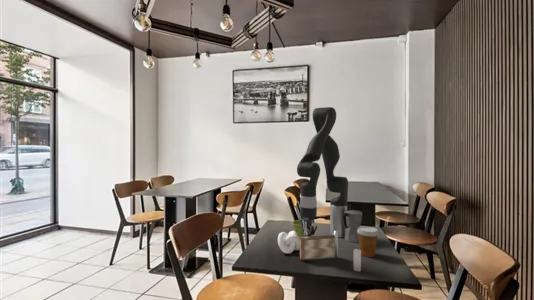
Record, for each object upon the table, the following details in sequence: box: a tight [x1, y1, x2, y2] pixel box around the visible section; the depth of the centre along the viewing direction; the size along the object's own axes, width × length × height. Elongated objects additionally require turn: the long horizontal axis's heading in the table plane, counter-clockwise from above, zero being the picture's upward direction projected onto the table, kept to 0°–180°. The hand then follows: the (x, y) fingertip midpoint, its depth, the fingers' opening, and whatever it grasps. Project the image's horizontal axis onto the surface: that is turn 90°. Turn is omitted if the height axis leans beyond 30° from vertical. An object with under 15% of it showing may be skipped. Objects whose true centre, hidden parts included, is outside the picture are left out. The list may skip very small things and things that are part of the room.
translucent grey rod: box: [333, 231, 339, 259], centre depth 132 cm, size 2×2×12 cm
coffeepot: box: [343, 206, 363, 243], centre depth 156 cm, size 15×9×18 cm, turn 129°
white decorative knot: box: [277, 230, 300, 254], centre depth 140 cm, size 11×12×9 cm
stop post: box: [352, 248, 362, 272], centre depth 119 cm, size 3×3×8 cm
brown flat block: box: [299, 234, 334, 260], centre depth 131 cm, size 16×2×10 cm, turn 102°
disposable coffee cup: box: [357, 226, 379, 258], centre depth 136 cm, size 10×10×12 cm
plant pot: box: [291, 219, 305, 238], centre depth 159 cm, size 9×9×9 cm
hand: (308, 243), depth 134 cm, fingers closed
